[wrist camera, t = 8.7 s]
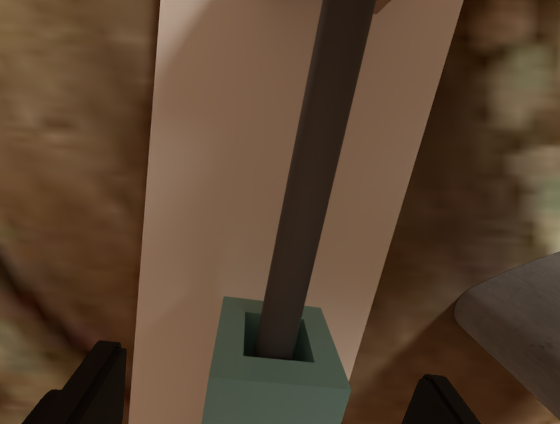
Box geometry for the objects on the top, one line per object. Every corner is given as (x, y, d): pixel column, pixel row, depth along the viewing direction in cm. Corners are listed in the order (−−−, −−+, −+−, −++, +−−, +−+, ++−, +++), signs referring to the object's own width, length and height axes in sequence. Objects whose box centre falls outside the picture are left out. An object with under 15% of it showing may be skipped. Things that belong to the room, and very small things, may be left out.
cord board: (179, -114, 11) (-123, -1097, 2) (458, -32, 13) (946, -423, 4) (131, 460, 19) (16, 771, 10) (312, 468, 20) (360, 744, 11)
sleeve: (223, 296, 10) (208, 377, 7) (320, 307, 11) (351, 389, 7) (206, 406, 12) (186, 522, 8) (294, 412, 12) (310, 525, 9)
